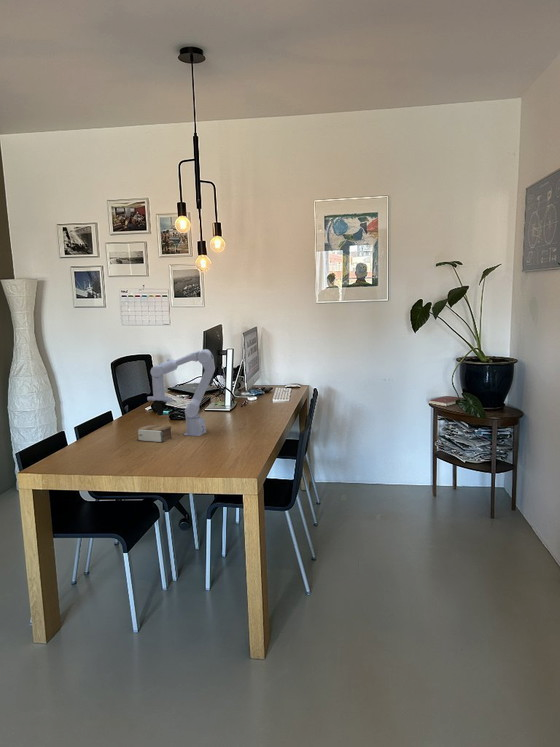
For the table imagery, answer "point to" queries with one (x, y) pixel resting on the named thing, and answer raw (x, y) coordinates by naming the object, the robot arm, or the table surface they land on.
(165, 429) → the cabinet
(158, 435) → the door
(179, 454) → the table surface
